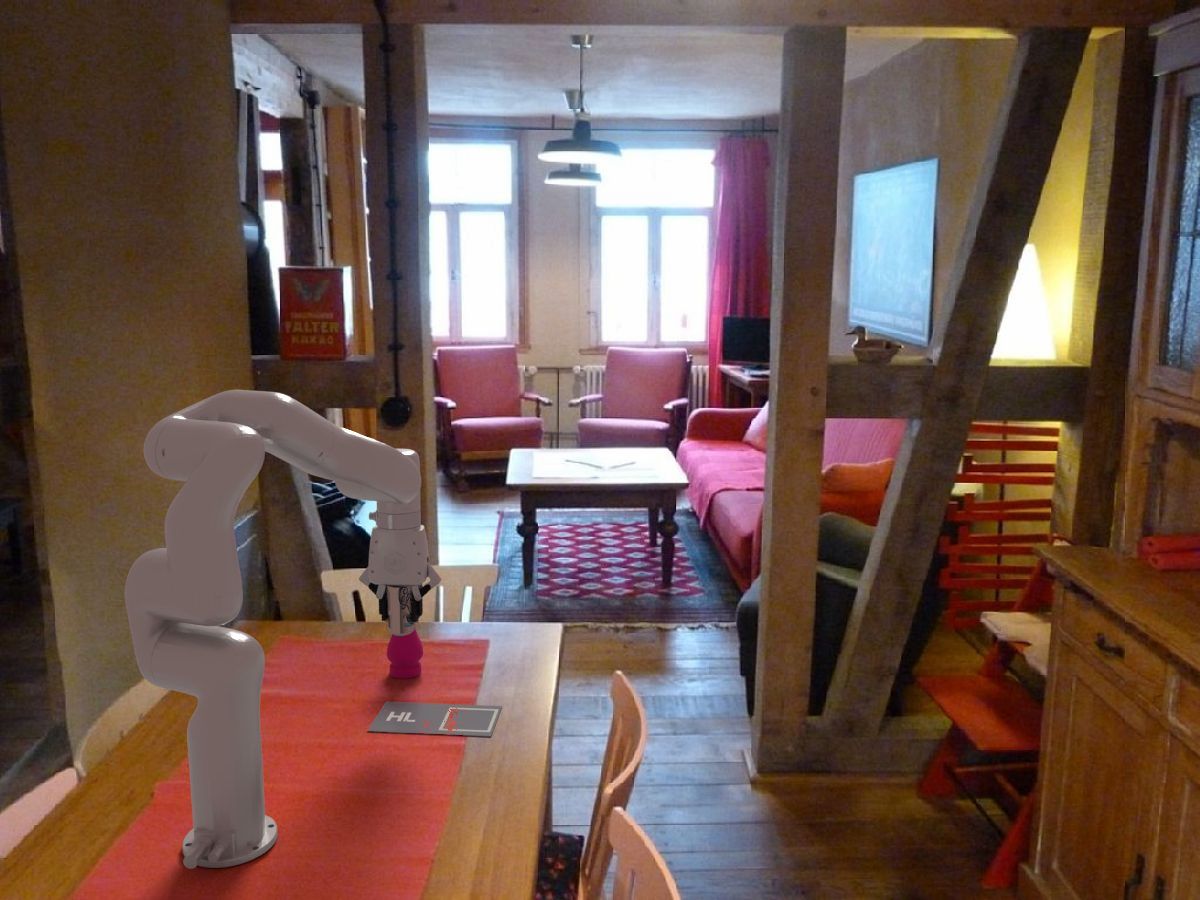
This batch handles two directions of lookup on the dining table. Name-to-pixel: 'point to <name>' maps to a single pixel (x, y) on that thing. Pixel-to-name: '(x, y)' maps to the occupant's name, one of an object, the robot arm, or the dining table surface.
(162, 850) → the dining table surface
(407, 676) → the pepper mill
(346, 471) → the robot arm
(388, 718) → the slate board
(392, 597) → the beer can
